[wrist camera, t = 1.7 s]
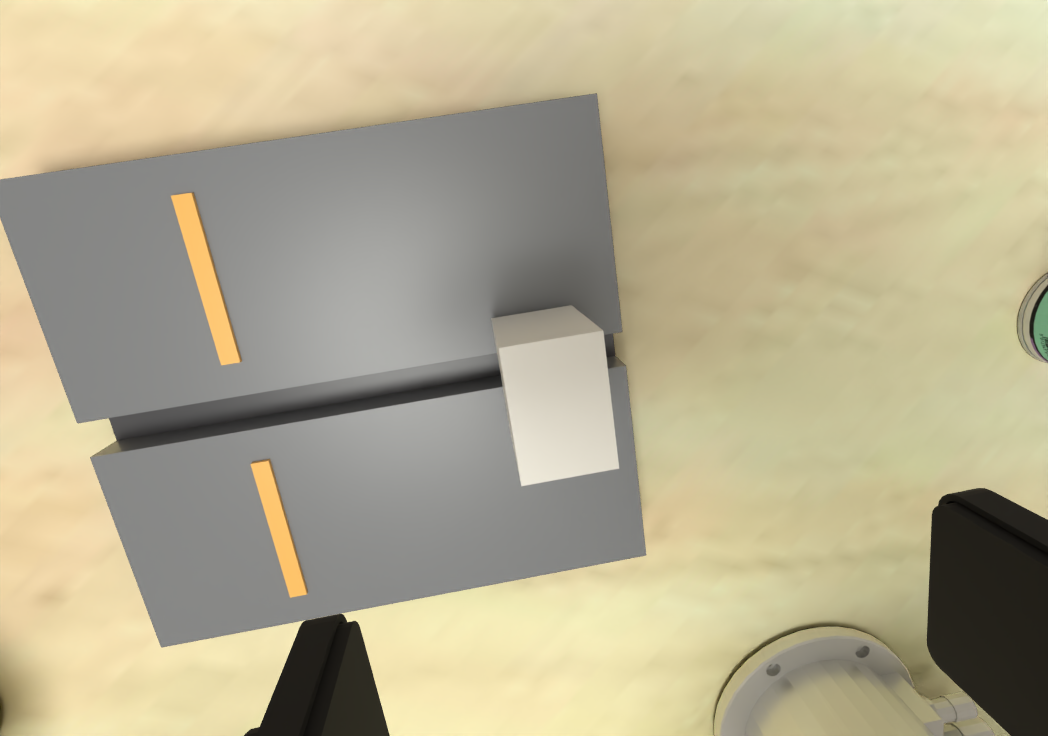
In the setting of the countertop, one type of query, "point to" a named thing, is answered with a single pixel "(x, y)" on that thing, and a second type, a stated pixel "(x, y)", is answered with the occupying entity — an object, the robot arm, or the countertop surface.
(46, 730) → the countertop surface
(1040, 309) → the spray can
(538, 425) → the cap
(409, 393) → the fader console
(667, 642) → the countertop surface
